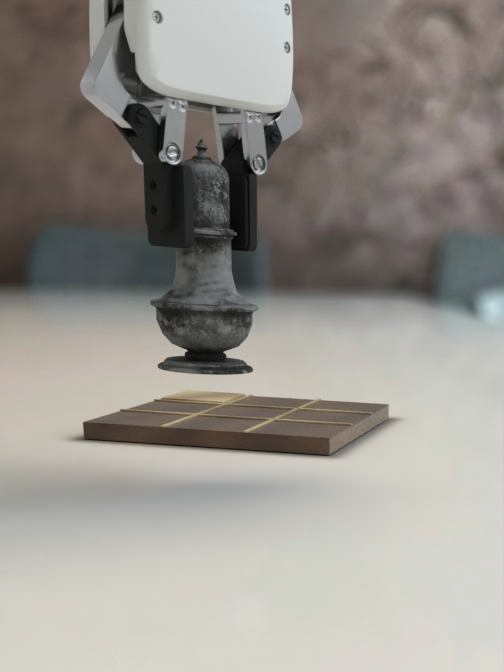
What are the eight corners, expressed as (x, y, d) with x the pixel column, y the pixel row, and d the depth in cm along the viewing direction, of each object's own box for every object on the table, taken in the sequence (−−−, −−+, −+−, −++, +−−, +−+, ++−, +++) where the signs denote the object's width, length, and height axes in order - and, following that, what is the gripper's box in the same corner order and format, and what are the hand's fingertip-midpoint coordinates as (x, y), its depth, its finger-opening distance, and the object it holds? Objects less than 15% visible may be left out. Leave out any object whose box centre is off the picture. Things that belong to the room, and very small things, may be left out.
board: (83, 438, 78) (82, 419, 78) (184, 405, 95) (184, 389, 95) (329, 455, 76) (329, 434, 76) (388, 418, 93) (389, 401, 92)
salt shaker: (206, 377, 59) (201, 133, 55) (129, 365, 62) (119, 132, 58) (279, 371, 64) (280, 146, 60) (205, 361, 67) (201, 144, 63)
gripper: (272, -90, 63) (272, 250, 69) (-4, -188, 51) (26, 238, 57) (367, -107, 59) (358, 257, 65) (90, -218, 46) (112, 245, 52)
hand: (203, 244), depth 61 cm, fingers closed on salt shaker, 3 cm apart
